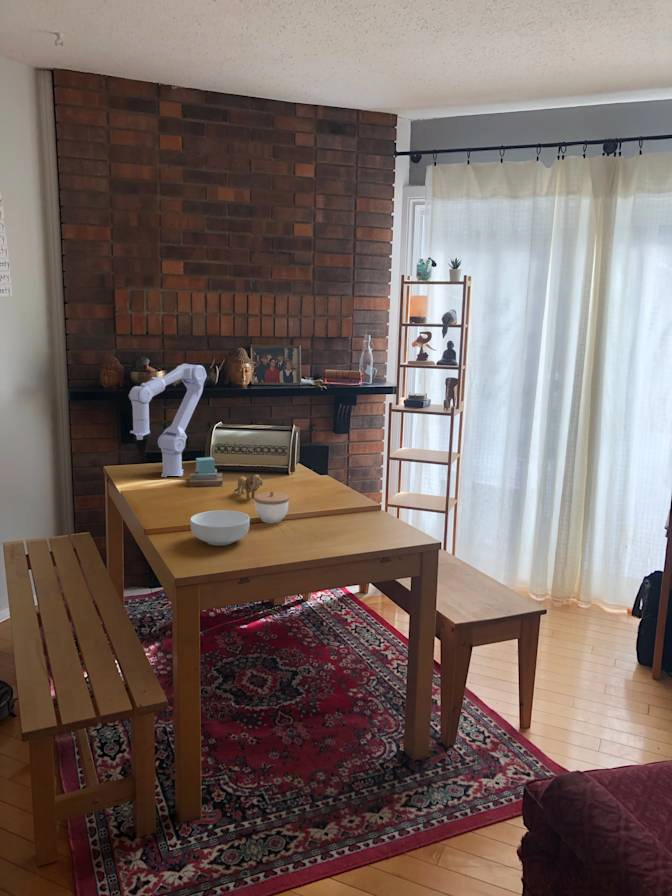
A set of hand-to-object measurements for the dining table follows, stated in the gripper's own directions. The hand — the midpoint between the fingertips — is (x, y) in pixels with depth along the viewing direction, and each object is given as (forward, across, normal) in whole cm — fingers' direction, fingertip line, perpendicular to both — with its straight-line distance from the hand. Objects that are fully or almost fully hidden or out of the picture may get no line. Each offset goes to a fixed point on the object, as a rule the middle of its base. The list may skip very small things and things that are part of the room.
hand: (142, 455), depth 274 cm
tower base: (+10, +4, +23) cm, 26 cm away
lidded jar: (+10, +53, +44) cm, 70 cm away
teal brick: (+6, +4, +23) cm, 24 cm away
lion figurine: (+10, +25, +38) cm, 47 cm away
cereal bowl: (+10, +71, +28) cm, 77 cm away
